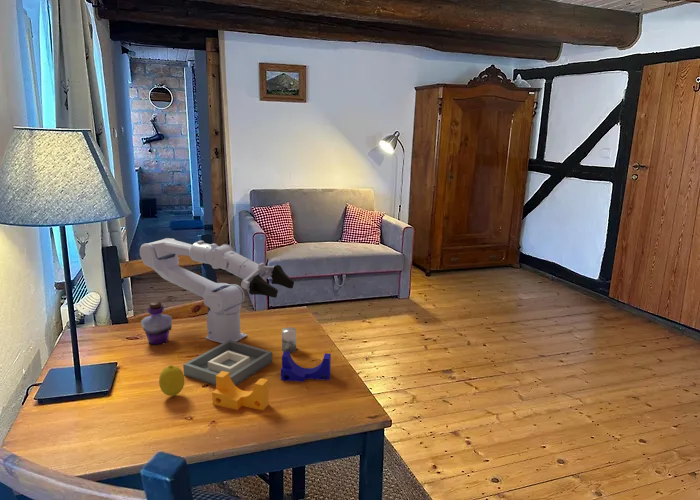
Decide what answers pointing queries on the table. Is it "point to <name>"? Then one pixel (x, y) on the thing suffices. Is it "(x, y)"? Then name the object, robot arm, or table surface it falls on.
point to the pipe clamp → (239, 394)
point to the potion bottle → (157, 324)
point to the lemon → (171, 380)
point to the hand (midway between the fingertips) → (284, 289)
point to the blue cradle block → (304, 369)
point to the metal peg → (289, 339)
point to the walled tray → (228, 362)
